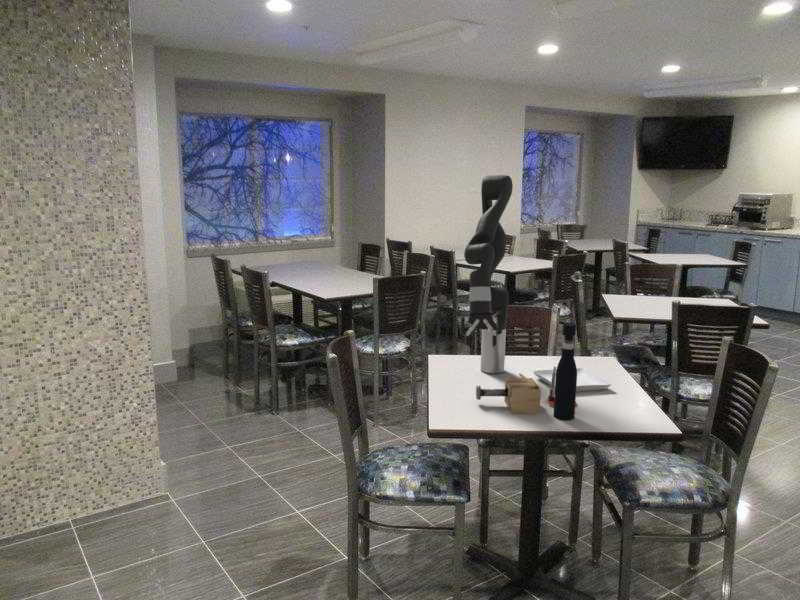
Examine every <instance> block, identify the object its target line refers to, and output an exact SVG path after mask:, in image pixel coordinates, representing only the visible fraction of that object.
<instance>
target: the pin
mask: <svg viewBox="0 0 800 600" xmlns="http://www.w3.org/2000/svg"><path fill="white" fill-rule="evenodd" d="M505 396H508V389H505V388H481V385H476V386H475V399H476V400H477V401H479V400H480V401H481V399H482V397H505Z"/></svg>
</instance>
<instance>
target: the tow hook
mask: <svg viewBox="0 0 800 600" xmlns="http://www.w3.org/2000/svg"><path fill="white" fill-rule="evenodd" d="M556 369H557V367H556V366H553V369H552V370H553V373H552V381H551V385H550V388H549V394H548V396H547V400H548V404H549V406H550V407H552V408H554V397H555V388H554V387H555V378H556ZM577 406H578V402H577V401H575V408H577Z"/></svg>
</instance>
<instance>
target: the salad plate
mask: <svg viewBox="0 0 800 600" xmlns="http://www.w3.org/2000/svg"><path fill="white" fill-rule="evenodd" d="M576 368H577V385H576V393H577V392H589V391H590V392H591V391H599V390H605V389H608V388H610V387H611V386H612V383H611V382H609V381H607V380H605V379H604V378H602V377H600V376H598V375H597V374H594V373H592V372H590V371H589V370H587V369H584V368H582V367H579V368H578V367H576ZM556 370H557V368H556ZM532 372H533V374H534V375H535V376H536V377H537V378H539V379H540V380H542V381H543V382H544V383H546V384H548V386H551V381H552V373H553V369H540V370H534V371H532ZM555 381H556V378H555ZM554 389H555V387H554Z"/></svg>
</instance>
